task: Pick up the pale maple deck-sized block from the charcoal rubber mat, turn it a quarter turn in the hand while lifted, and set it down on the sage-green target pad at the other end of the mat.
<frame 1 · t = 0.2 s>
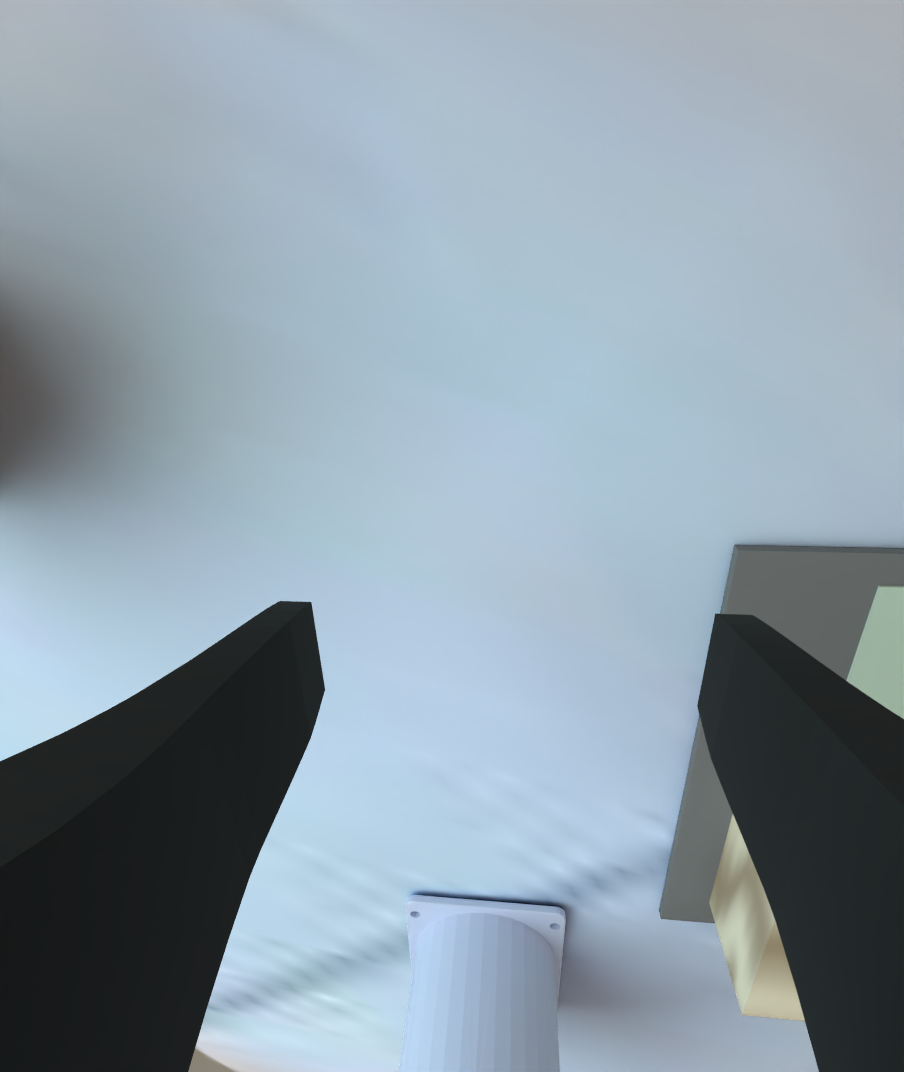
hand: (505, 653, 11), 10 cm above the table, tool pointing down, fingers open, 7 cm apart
rubber mat: (897, 772, 24), on the table
maple block: (786, 842, 25), resting on rubber mat
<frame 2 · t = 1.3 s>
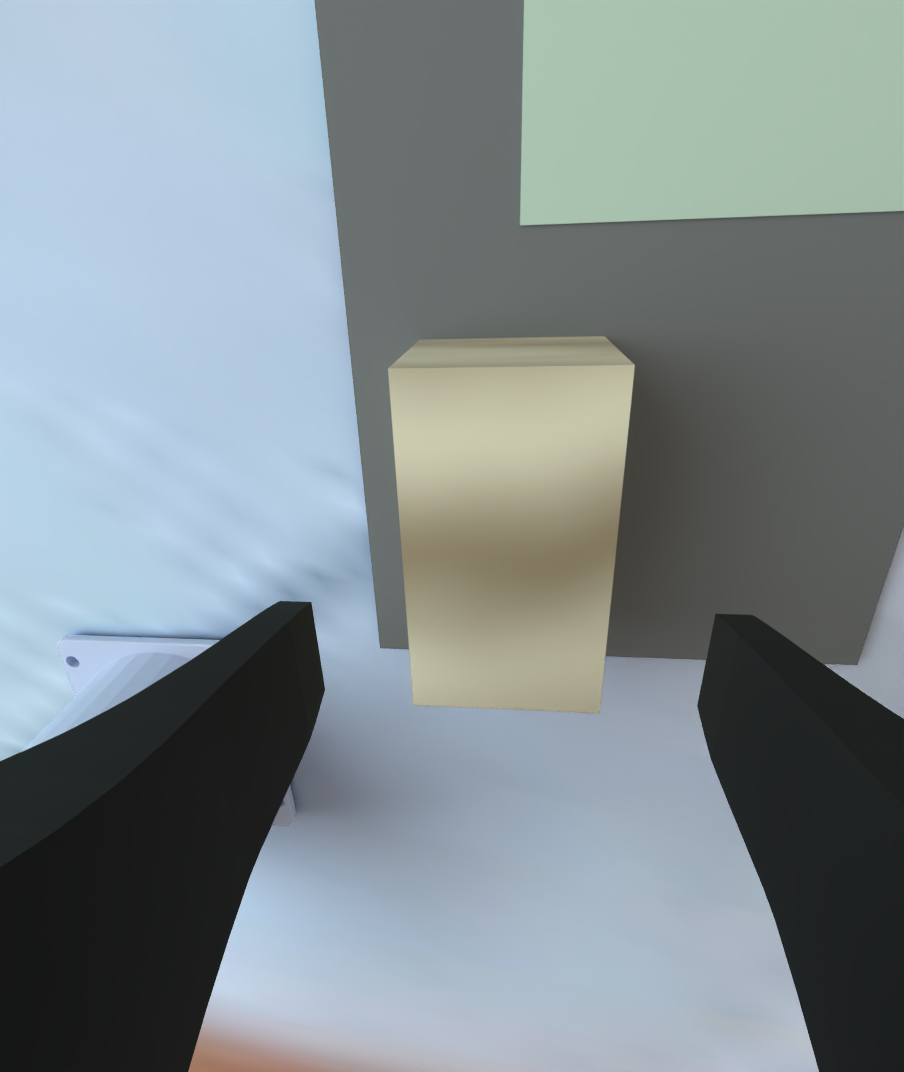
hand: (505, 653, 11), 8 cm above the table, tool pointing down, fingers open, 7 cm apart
rubber mat: (638, 352, 16), on the table
maple block: (508, 492, 18), resting on rubber mat
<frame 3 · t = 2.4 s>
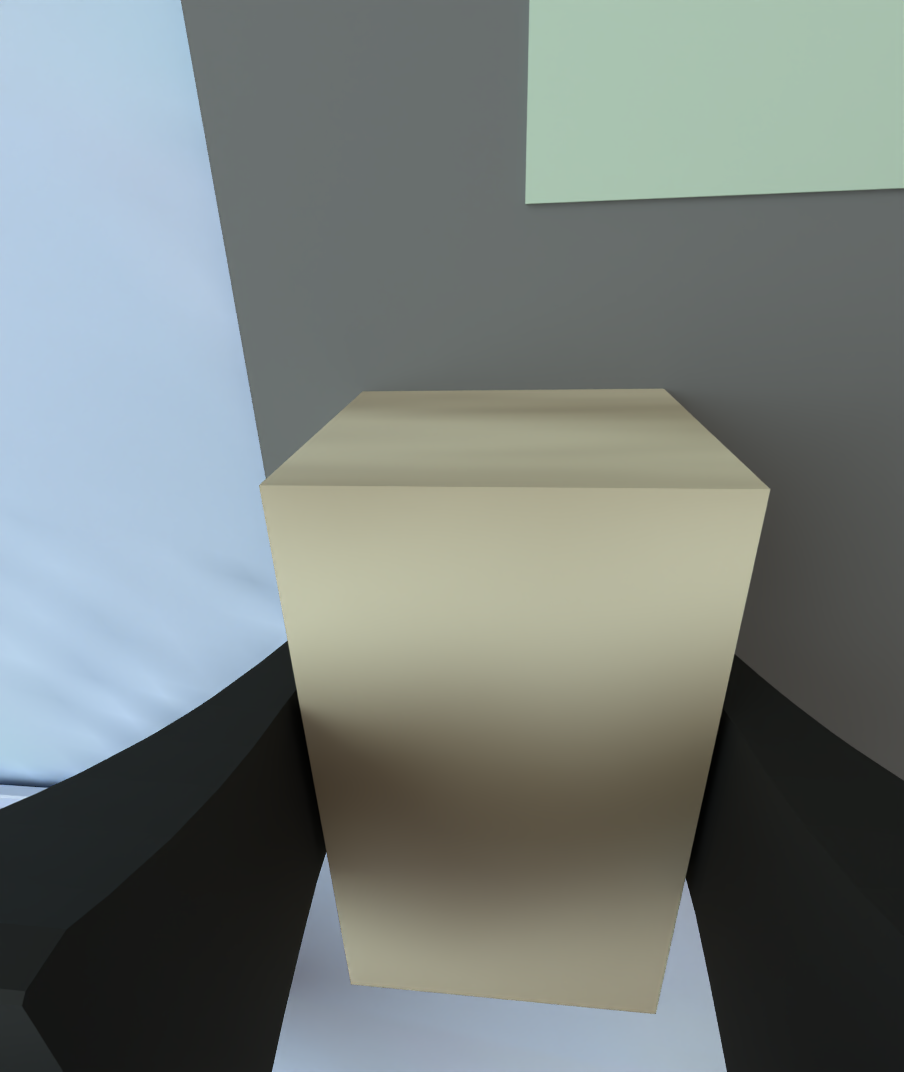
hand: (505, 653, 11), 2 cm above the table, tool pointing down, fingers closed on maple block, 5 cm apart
rubber mat: (715, 412, 10), on the table
maple block: (506, 616, 12), resting on rubber mat, touching gripper
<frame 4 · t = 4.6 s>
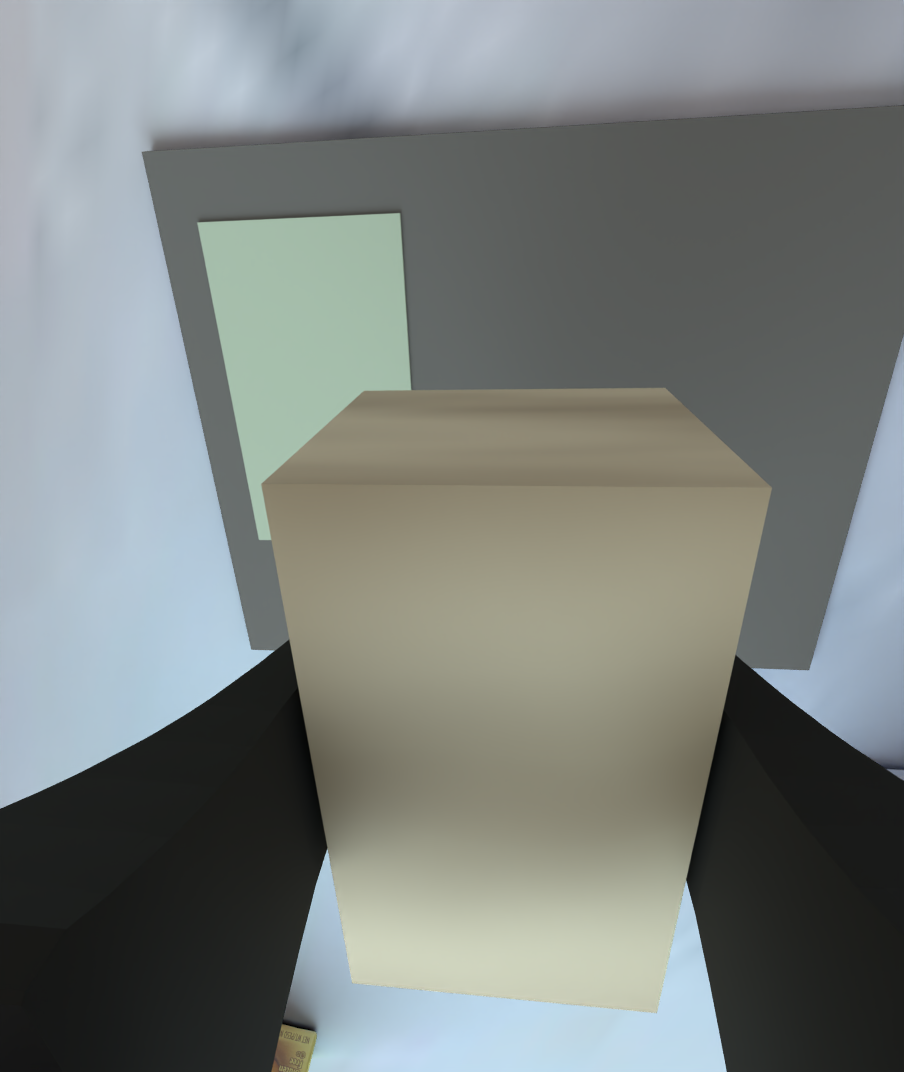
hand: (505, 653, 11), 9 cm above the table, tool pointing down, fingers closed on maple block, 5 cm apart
rubber mat: (519, 441, 18), on the table
candy box: (245, 1023, 36), on the table
maple block: (507, 616, 12), point 8 cm above the table, touching gripper
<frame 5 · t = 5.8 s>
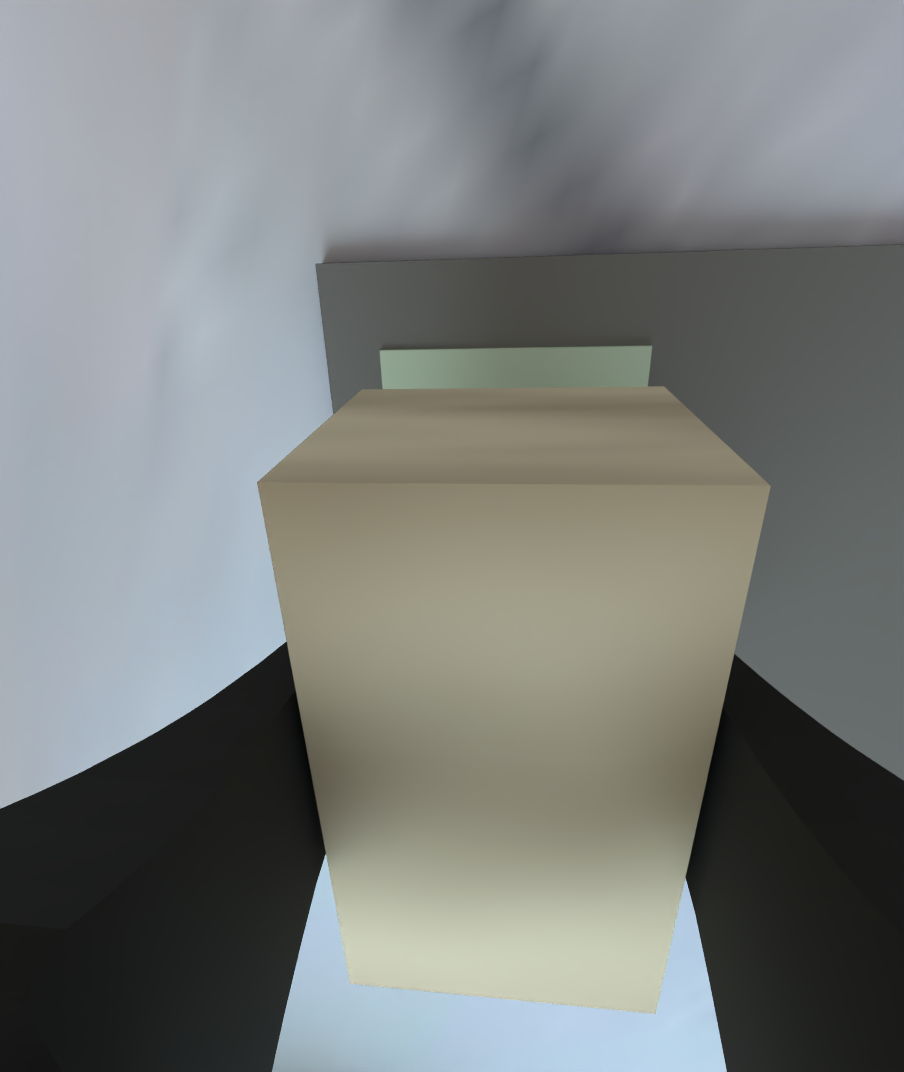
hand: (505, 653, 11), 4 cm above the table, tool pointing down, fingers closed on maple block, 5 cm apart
rubber mat: (750, 603, 15), on the table
maple block: (506, 615, 12), point 3 cm above the table, touching gripper
when the fingers open (3 cm above the table, at t = 6.6 s): maple block drops 1 cm, resting on rubber mat.
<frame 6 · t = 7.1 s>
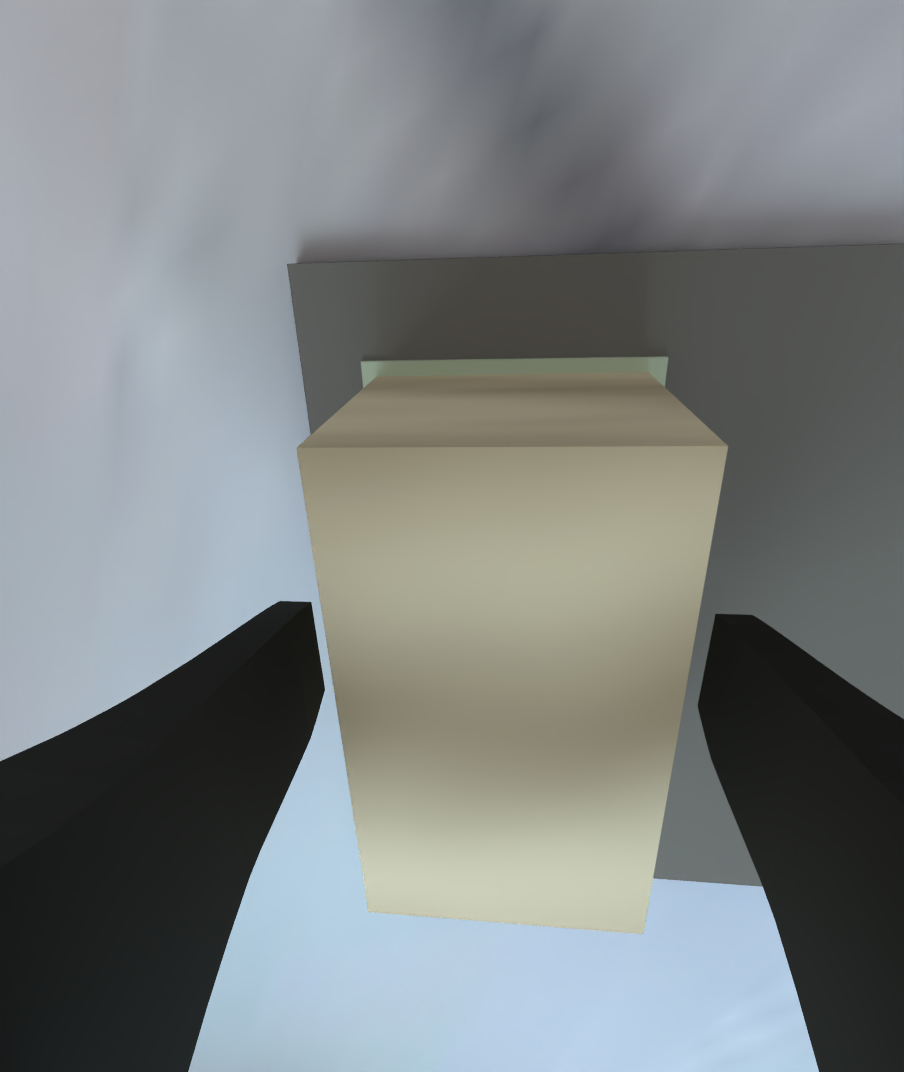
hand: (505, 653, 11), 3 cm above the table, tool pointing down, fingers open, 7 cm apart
rubber mat: (773, 638, 13), on the table
maple block: (507, 584, 13), resting on rubber mat
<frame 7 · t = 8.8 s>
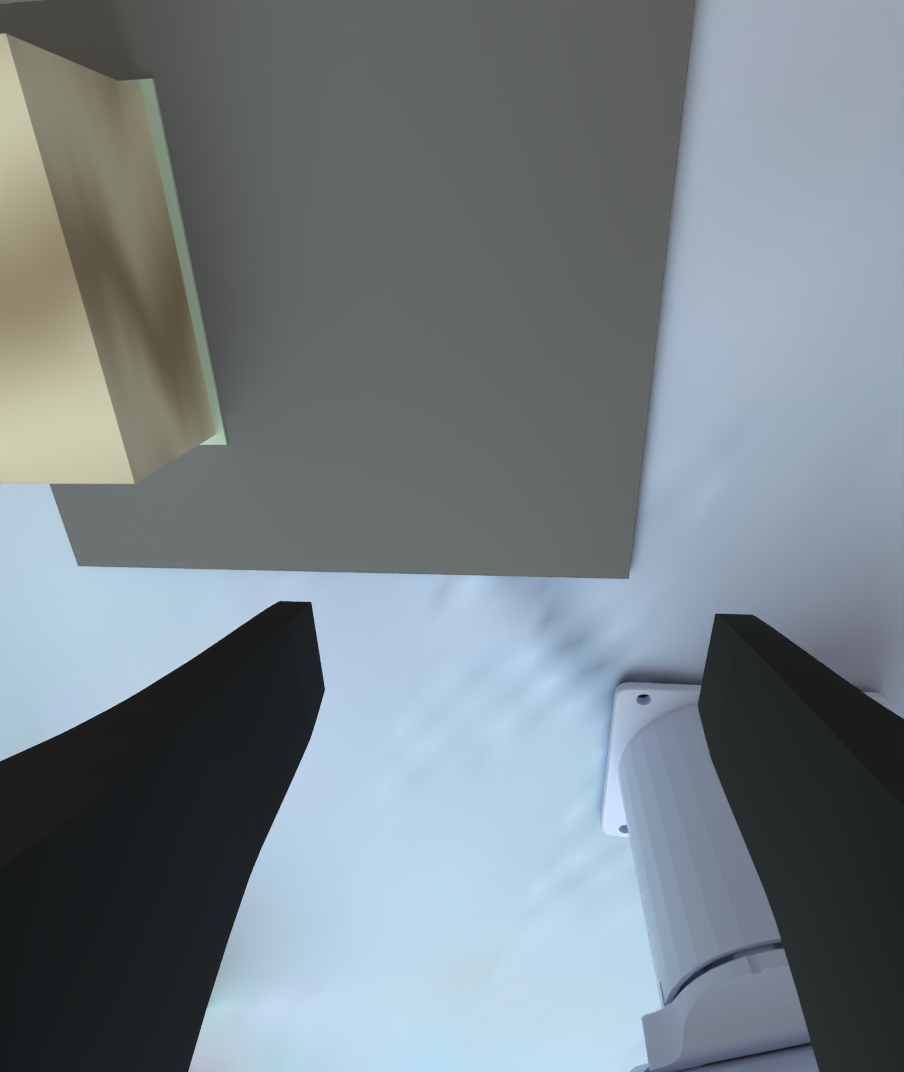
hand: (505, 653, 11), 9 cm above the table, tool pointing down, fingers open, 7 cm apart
rubber mat: (313, 334, 18), on the table
maple block: (103, 285, 17), resting on rubber mat
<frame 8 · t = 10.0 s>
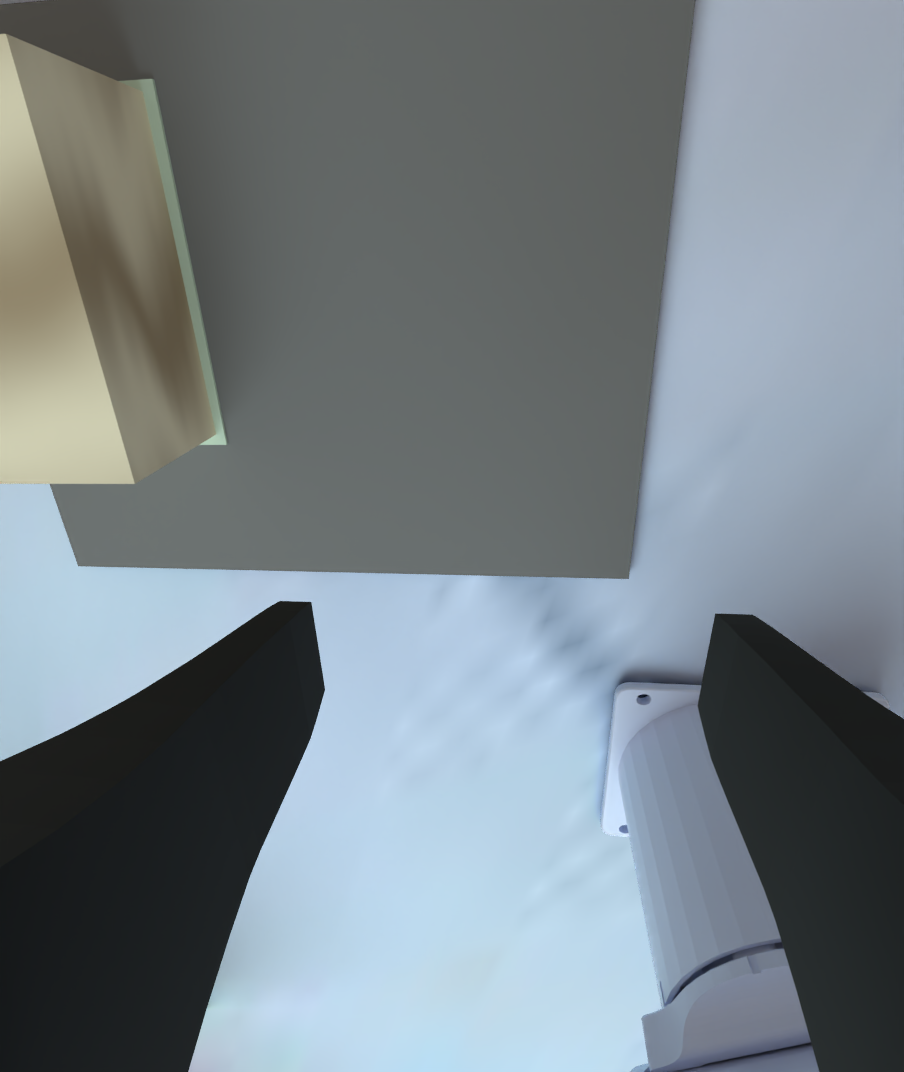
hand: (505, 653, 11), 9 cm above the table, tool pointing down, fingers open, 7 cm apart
rubber mat: (313, 334, 18), on the table
maple block: (103, 285, 17), resting on rubber mat
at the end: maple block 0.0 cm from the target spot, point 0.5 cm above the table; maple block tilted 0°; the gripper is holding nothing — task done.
